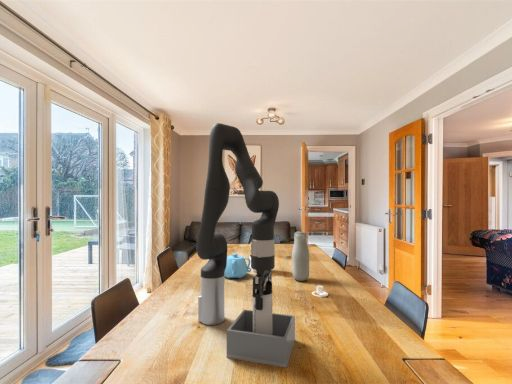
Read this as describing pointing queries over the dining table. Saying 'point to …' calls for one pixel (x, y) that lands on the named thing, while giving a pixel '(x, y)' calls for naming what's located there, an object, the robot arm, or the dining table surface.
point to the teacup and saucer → (320, 291)
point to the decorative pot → (236, 266)
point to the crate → (261, 340)
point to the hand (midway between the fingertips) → (262, 304)
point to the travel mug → (263, 313)
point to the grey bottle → (300, 257)
